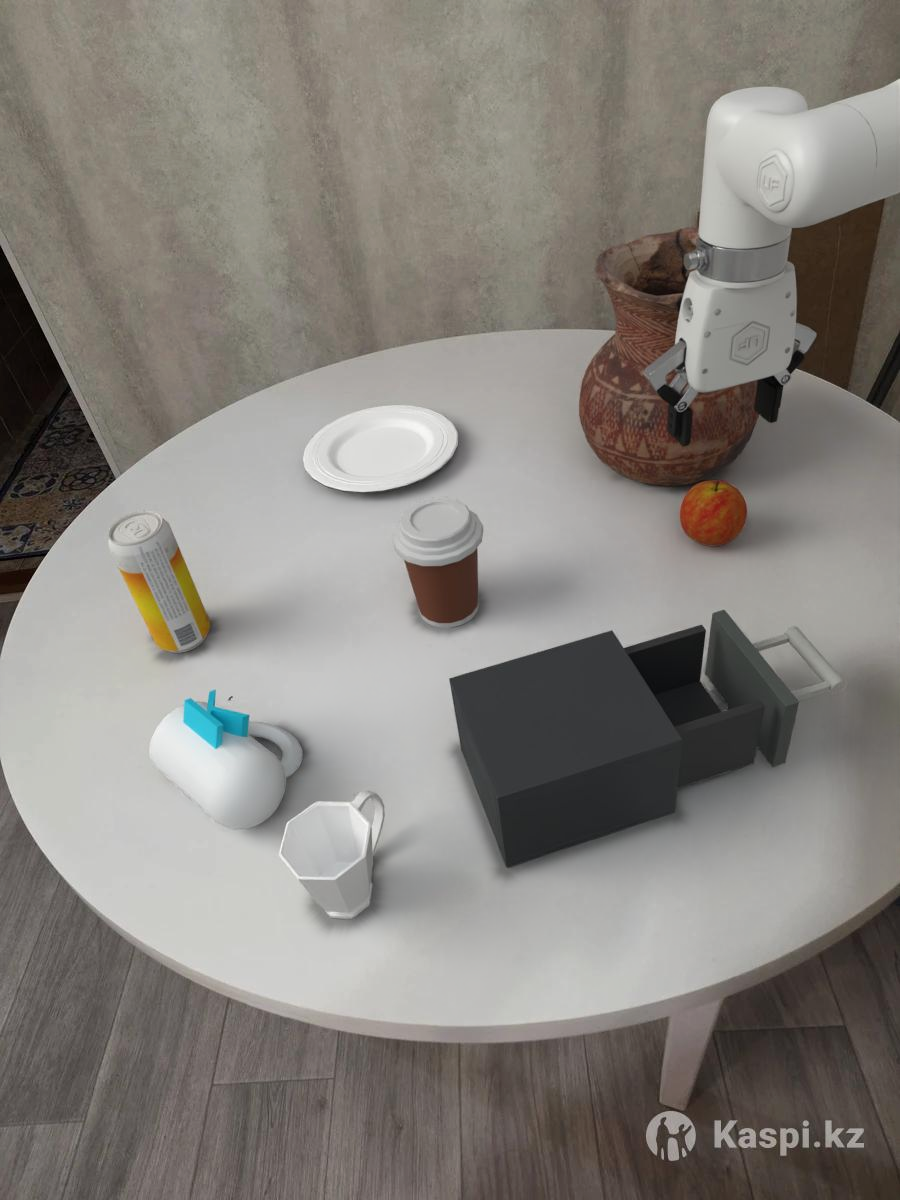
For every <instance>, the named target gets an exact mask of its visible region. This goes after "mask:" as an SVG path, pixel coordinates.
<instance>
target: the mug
mask: <svg viewBox="0 0 900 1200" xmlns="http://www.w3.org/2000/svg"><path fill="white" fill-rule="evenodd" d="M216 695H217V689H213V690H210V691H209V692H208V697H207V702H205V701H197V700H196V701H195V700H194V699H193V698H192V697H189V698H187V699H184V703H183V705H182V704H181V705H180V706H178V707H176V708H174V709H173V710H172V711H171V712H169V713H168V714H166V716H165V717H163V719H162V720H161V721H160V722H159V724H158V725H157V726H156V728H155V730H154V732H153V734H152V736H151V738H150V742H149V748H148V753H149V760H150V762H151V763H152V765H153V766H154V768H155V769H157V771H159V772H160V773H161V774H162V775H163V776H164V777H165V778H166V779H168V780H169V781H170V782H171V783H172V784H174V786H175V787H176V788H178V789H179V790H180V791H181V792H182V793H183V794H184V795H185V796H187V797H188V799H190V800H191V801H192V802H193V803H194V804H195V805H196V806H198V808H199V809H201V810H202V811H203V812H204V813H205V814H206V815H208V817H210V818H211V819H212V820H213V821H214V822H215V823H216V824H218V825H220V826H222V827H224V828H226V829H231V830H247V829H250V828H254V827H256V826H258V825H260V824H262V823H264V822H265V821H266V820H268V819H269V818H270V817H271V816H272V815H273V814H274V813H275V812H276V810H277V809H278V808H279V806H280V804H281V803H282V800H283V798H284V795H285V792H286V785H287V782H286V781H287V778H289V777H291V776H292V775H293V774H294V773H295V772H296V771H297V770H298V769H299V768H300V767H301V763H302V761H303V758H304V755H303V748H302V746H301V744H300V742H299V740H298V739H296V737H295V736H294V735H293V734H292V733H291V732H289V731H287V730H285V729H283V728H282V727H280V726H277V725H274V724H271V723H268V722H267V723H266V722H262V721H253V720H250V714H247V713H245V712H244V713H243V712H239V711H235V710H230V709H227V708H222V707H218V706H216ZM254 737H255V738H262V739H264V740H267V741H270V742H271V743H274V744H275V745H276V746H277V747H278V748H279V749H280V751H281V753H282V757H281V760H280V759H279V758H278V756H277V755H276V754H274V753H273V752H272V751H270V750H269V749H268V748H267V747H266V746H264V745H263V744H262V743H260V742H258V741H257V740H256V739H255V738H254Z"/></svg>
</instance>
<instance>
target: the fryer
mask: <svg viewBox="0 0 900 1200" xmlns="http://www.w3.org/2000/svg"><path fill="white" fill-rule="evenodd" d="M624 648H625V647H624V646H623V645H622V643H621V642H620V640H619V638H618V637H617V635H616V634H615V632H614V631H613V629H611V630H609V631H605V632H601V633H598V634H595V635H591V636H587V637H583V638H581V639H578V640H574V641H571V642H568V643H564V644H561V645H557V646H554V647H551V648H547V649H543V650H541V651H537V652H533V653H531V654H527V655H524V656H520V657H517V658H515V659H510V660H506V661H504V662H503V661H502V662H500V663H496V664H494V665H493V664H492V665H490V666H487V667H483V668H480V669H477V670H472V671H470V672H466V673H463V674H460V675H456V676H453V677H449V679H448V681H449V685H450V686H449V687H450V692H451V699H452V704H453V709H454V715H455V721H456V722H455V723H456V727H457V734H458V740H459V744H460V750H461V753H462V757H463V758H464V761H465V763H466V766H467V768H468V771H469V774H470V777H471V779H472V781H473V784H474V786H475V789H476V792H477V795H478V797H479V800H480V802H481V805H482V808H483V810H484V813H485V815H486V818H487V821H488V823H489V826H490V829H491V831H492V833H493V837H494V839H495V842H496V844H497V846H498V849H499V851H500V854H501V858H502V859H503V863H504V865H505V867H506V868H511V867H514V866H517V865H519V864H523V863H526V862H528V861H529V862H530V861H531V860H534V859H537V858H541V857H543V856H546V855H550V854H552V853H553V854H554V853H555V852H559V851H562V850H565V849H568V848H571V847H574V846H578V845H580V844H583V843H585V842H590V841H592V840H595V839H598V838H602V837H604V836H607V835H611V834H614V833H616V832H619V831H624V830H626V829H629V828H632V827H634V826H638V825H641V824H643V823H646V822H650V821H653V820H656V819H658V818H659V819H660V818H661V817H665V816H668V815H671V814H674V813H675V812H676V806H677V805H676V804H677V794H678V788H677V785H678V776H679V766H680V756H681V747H682V738H681V737H680V735H679V733H678V732H677V730H676V729H675V727H674V726H673V724H672V723H671V721H670V719H669V718H668V716H667V715H666V713H665V712H664V710H663V708H662V707H661V705H660V704H659V702H658V701H657V699H656V698H655V696H654V694H653V693H652V691H651V690H650V688H649V687H648V685H647V684H646V682H645V680H644V679H643V677H642V676H641V674H640V673H639V671H638V670H637V668H636V666H635V665H634V663H633V662H632V660H631V659H630V657H629V656H628V654H627V652H626V651H625V649H624Z"/></svg>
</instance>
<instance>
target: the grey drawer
mask: <svg viewBox="0 0 900 1200" xmlns="http://www.w3.org/2000/svg"><path fill="white" fill-rule="evenodd" d="M706 636H707V630H706V627H705V626H704V625H703V624H699V625H695V626H692V627H689V628H686V629H682V630H679V631H675V632H672V633H669V634H664V635H662V636H658V637H655V638H652V639H649V640H645V641H642V642H639V643H635V644H631V645H629V646H628V645H627V646H625V647H623V648H624V649H625V651H626V652H627V654H628V656H629V657H630V659H631V660H632V662H633V663H634V665H635V666H636V668H637V670H638V671H639V673H640V674H641V676H642V677H643V679H644V680H645V682H646V684H647V685H648V687H649V688H650V690H651V691H652V693H653V694H654V696H655V698H656V699H657V701H658V702H659V704H660V705H661V707H662V708H663V710H664V712H665V713H666V715H667V716H668V718H669V719H670V721H671V723H672V724H673V726H674V727H675V729H676V730H677V732H678V733H679V735H680V737H681V738H682V747H681V756H680V766H679V776H678V785H677V789H679V788H683V787H686V786H688V785H692V784H695V783H698V782H702V781H704V780H707V779H711V778H714V777H717V776H719V775H723V774H725V773H729V772H731V771H736V770H738V769H741V768H744V767H747V766H751V765H752V764H754V763H755V759H756V755H757V750H759V751H760V752H761V754H762V755H763V757H764V758H765V760H766V761H767V762H768V763H769V765H770V766H771V767H772V768H775V767H778V766H781V765H785V764H786V761H787V756H788V752H789V748H790V744H791V739H792V736H793V731H794V727H795V723H796V718H797V716H798V715H797V714H798V711H799V706H800V700H804V699H807V698H810V697H813V696H816V695H820V694H823V693H826V692H829V691H830V692H831V693H832V694H838V693H841V692H842V691H843V690H845V688H847V681H846V680H845V679H844V678H843V676H842V675H840V673H839V672H838V671H837V670H836V668H834V667H833V665H832V664H831V663H830V662H829V661H828V660H827V658H826V657H824V656H823V654H822V653H821V652H820V651H819V650H818V649H817V647H816V646H815V645H814V644H813V643H812V642H811V640H809V639H808V638H807V636H806V635H805V633H803V631H802V630H801V629H800V628H799V627H797V626H791V627H789V628H788V629H786V630H785V631H784V633H783V634H781V635H776V636H774V637H771V638H768V639H764V640H761V641H758V642H754V643H753V642H751V640H750V639H749V638H748V636H746V634H745V633H744V631H742V630H741V628H740V627H739V625H738V624H737V623H736V622H735V621H734V620H733V618H732V617H731V616H730V615H729V613H728V612H727V611H726V610H725V609H720V610H718V611H715V612H712V613H711V620H710V628H709V638H708V645H707V653H706V661H705V669H704V675H705V677H706V678H707V679H708V680H709V682H710V683H711V685H712V686H713V687H714V688H715V690H716V691H717V693H718V694H719V696H720V697H721V698H722V700H723V701H724V702H725V704H726V705H727V707H728V708H729V709H726V710H722V709H720V707H719V705H718V704H717V703H716V701H715V700H714V698H713V697H712V695H711V694H710V693H709V691H708V690H707V689H706V687H705V685H704V684H703V683H702V681H701V678H702V669H703V660H704V653H705V652H704V651H705V642H706ZM785 644H790V646H791V647H792V648H793V650H795V652H796V653H797V654H798V655H799V656H800V657H801V659H802V660H803V661H804V662H805V664H806V665H807V666H808V667H809V668H810V669H811V670H812V672H814V674H815V675H816V677H818V679H820V681H821V682H818V683H816V684H813V685H809V686H806V687H803V688H800V689H796V690H794V691H791V690H790V689H789V687H788V686H787V685H786V684H785V682H784V680H783V679H781V677H780V676H779V675H778V674H777V673H776V671H775V670H774V669H773V667H772V666H771V665H770V664H769V663H768V661H767V660H766V659H765V658H764V656H763V655H762V654H761V653H760V652H762V651H765V650H769V649H771V648H775V647H779V646H783V645H785Z"/></svg>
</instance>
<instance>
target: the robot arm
mask: <svg viewBox="0 0 900 1200" xmlns="http://www.w3.org/2000/svg"><path fill="white" fill-rule="evenodd" d="M706 120H707V121H706V129H705V130H706V132H705V143H704V156H703V166H702V167H703V169H702V183H701V193H700V195H701V196H700V209H699V221H698V228H699V233H698V238H697V239H696V250H694V251H692V253H687V254H685V256H684V266H685V268H686V269H687V270H690V269H695V270H694V271H692V272H690V274H689V277H688V280H687V283H686V287H685V291H684V294H683V298H682V303H681V307H680V312H679V318H678V324H677V331H676V339H675V345H674V346H673V347H672V348H670V349H669V350H668V351H667V352H665V353H664V354H663V355H662V356H660V357H659V358H658V359H657V360H655V361H654V362H653V363H652V364H650V365H649V366H648V367H646V368H645V370H644V372H643V374H644V376H645V378H646V379H647V381H648V382H649V384H650V386H651V387H652V389H653V391H654V392H655V393H657V394H658V395H659V396H660V398H662V399H663V400H664V401H666V402H667V403H668V418H667V430H668V433H669V434H670V435H671V436H672V437H674V438H675V439H676V440H677V441H678V442H679V443H680V444H681V445H682V446H683V447H684V446H688V445H689V444H690V442H691V430H692V418H693V411H692V409H691V408H690V407H688V406H689V405H690V403H691V402H692V401H693V399H694V398H695V397H696V395H697V394H698V392H703V393H706V392H712V391H717V390H721V389H725V388H729V387H733V386H737V385H740V384H744V383H748V382H752V381H756V380H758V382H757V390H756V397H755V404H754V410H755V411H756V412H757V413H758V414H759V416H760V417H761V418H762V419H764V420H765V421H766V422H767V423H770V424H774V423H777V422H778V418H779V417H778V416H779V410H780V408H781V405H782V399H783V392H784V386H786V385H787V384H789V383H790V382H791V380H792V374H793V373H794V371H795V370H796V369H797V368H798V367H799V366H800V365H801V364H802V363H803V361H804V360H805V354H806V353H808V351H809V349H810V347H811V346H812V345H813V343H814V341H815V340H816V338H817V334H818V333H817V332H816V331H815V330H813V329H811V328H810V327H809V326H807V325H804V324H801V323H799V322H797V308H798V307H797V305H798V296H797V295H798V294H797V293H798V291H797V278H796V271H795V270H796V268H795V265H794V263H792V262H790V261H789V260H788V257H789V250H790V245H791V236H792V229H799V228H801V229H802V228H805V227H810V226H813V225H816V224H820V223H823V222H824V221H827V220H830V219H832V218H833V219H834V218H837V217H838V216H841V215H844V214H846V213H849V212H850V211H853V210H855V209H858V208H861V207H864V206H866V205H869V204H872V203H874V202H878V201H881V200H883V199H886V198H890V197H893V196H894V195H897V194H899V193H900V78H898V79H897V80H895V81H893V82H891V83H889V84H887V85H885V86H883V87H880V88H878V89H877V88H876V89H874V90H870V91H867V92H864V93H860V94H856V95H854V96H850V97H848V98H844V99H841V100H837V101H835V102H832V103H828V104H826V105H824V106H820V107H815V108H812V109H809V105H808V102H807V101H806V99H805V97H804V96H803V94H801V93H800V92H799V91H797V90H794V89H791V88H788V87H781V86H754V87H747V88H741V89H736V90H733V91H730V92H728V93H726V94H723V95H721V96H720V97H719V98H718V99H717V100H716V101H715V102H714V103H713V104H712V106H711V107H710V110H709V112H708V116H707V119H706ZM673 369H675V372H676V373H677V375H676V376H675V377H674V379H673V380H672V382H671V383H670V385H668V384H667V382H666V380H665V377H666V375H667V374H668V373H669V372H671V371H672V370H673ZM687 382H688V383H689V384H688V385H687V386H686V388H685V389H684V391H683V392H682V393H681V395H680V394H679V393H680V391H681V390H682V389H683V387H684V386H685V385H686V383H687Z"/></svg>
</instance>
